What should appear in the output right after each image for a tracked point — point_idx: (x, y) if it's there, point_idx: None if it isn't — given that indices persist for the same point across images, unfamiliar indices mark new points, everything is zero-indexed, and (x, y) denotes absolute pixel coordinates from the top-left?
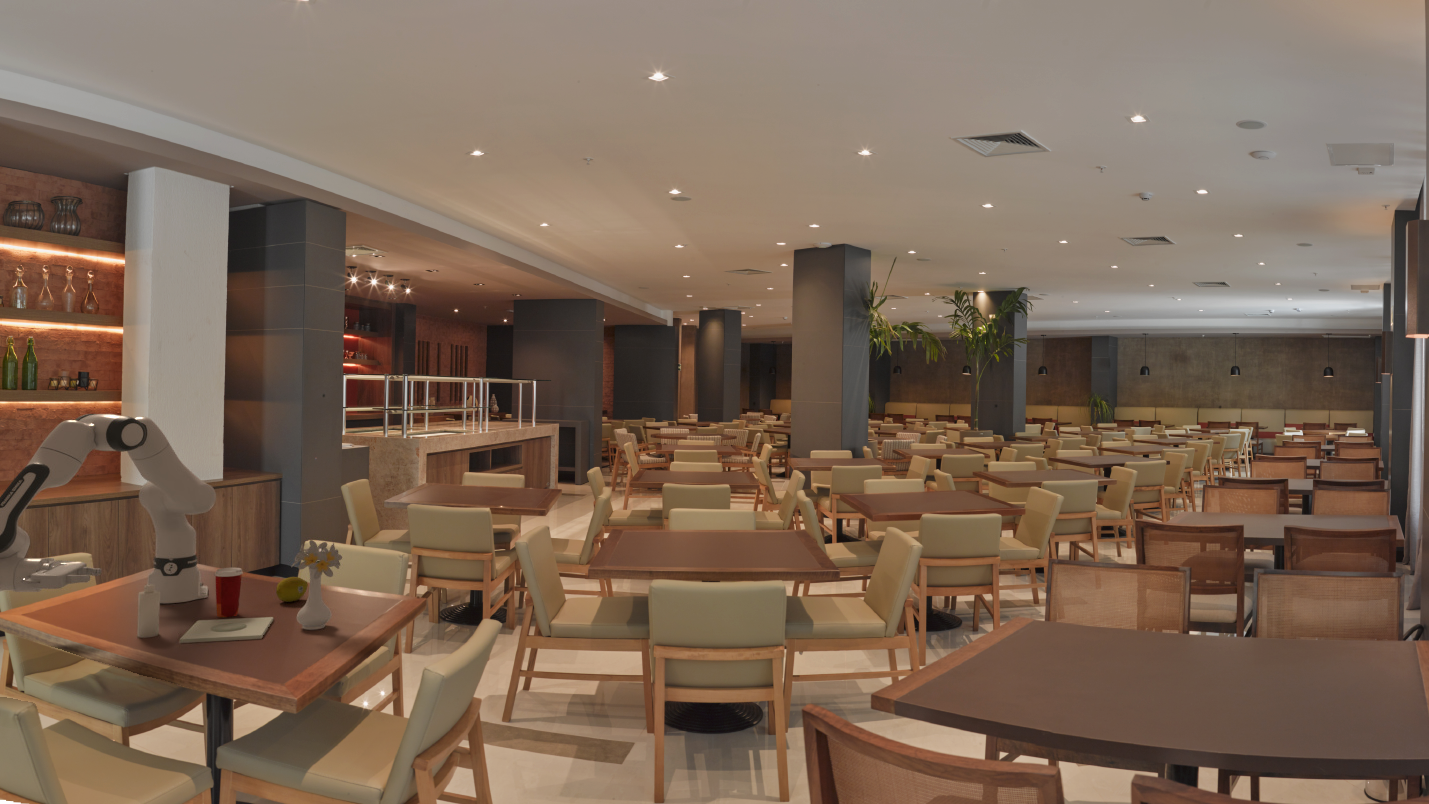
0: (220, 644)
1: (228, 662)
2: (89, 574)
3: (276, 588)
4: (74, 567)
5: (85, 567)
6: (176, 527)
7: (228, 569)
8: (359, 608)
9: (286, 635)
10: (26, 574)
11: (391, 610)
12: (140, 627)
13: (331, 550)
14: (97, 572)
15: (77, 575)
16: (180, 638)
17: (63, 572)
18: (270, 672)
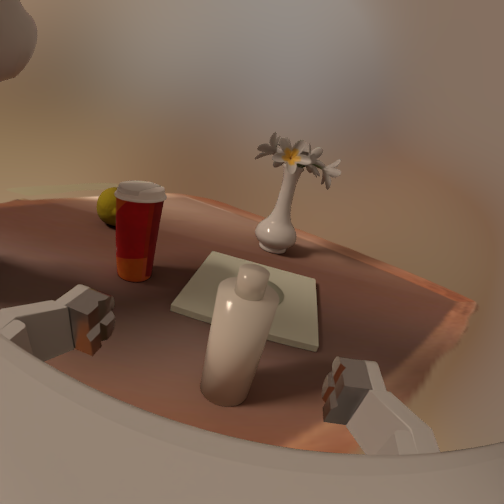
0: (335, 315)
1: (413, 319)
2: (49, 355)
3: (105, 209)
4: (86, 405)
5: (2, 323)
6: None
7: (138, 185)
8: (200, 213)
9: (303, 268)
10: None
11: (225, 209)
12: (247, 385)
13: (304, 149)
14: (103, 317)
15: (394, 406)
16: (311, 345)
17: (455, 471)
18: (434, 302)
